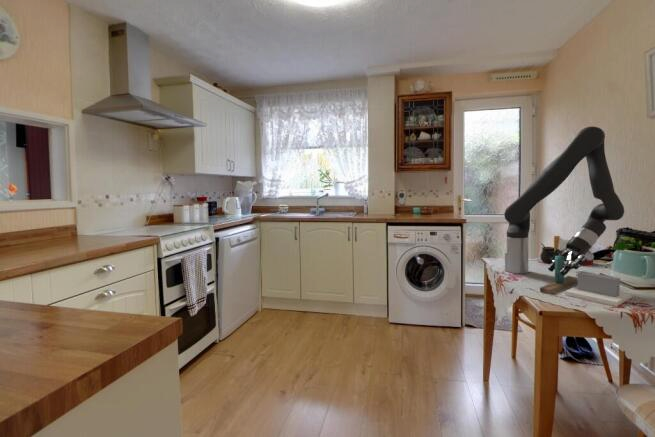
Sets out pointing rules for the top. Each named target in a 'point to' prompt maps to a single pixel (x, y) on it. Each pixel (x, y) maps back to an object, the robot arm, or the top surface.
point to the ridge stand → (599, 289)
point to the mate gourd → (547, 254)
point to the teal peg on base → (558, 278)
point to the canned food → (588, 259)
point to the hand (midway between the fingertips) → (555, 272)
